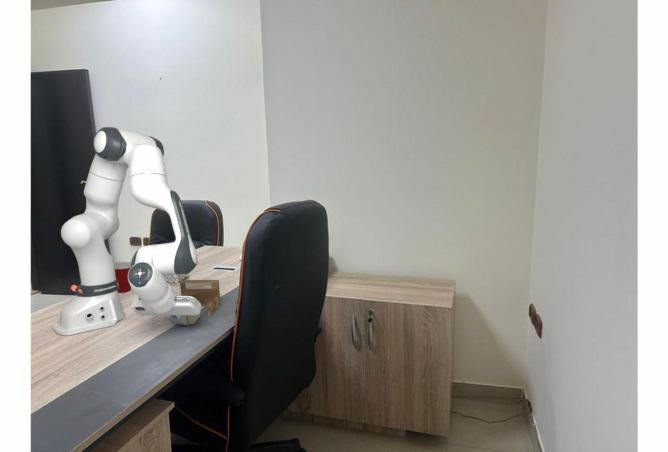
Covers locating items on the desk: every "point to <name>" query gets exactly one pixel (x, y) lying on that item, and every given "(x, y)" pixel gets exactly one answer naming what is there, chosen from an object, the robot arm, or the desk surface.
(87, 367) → the desk surface
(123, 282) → the plastic cup
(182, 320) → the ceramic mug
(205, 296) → the display bay
